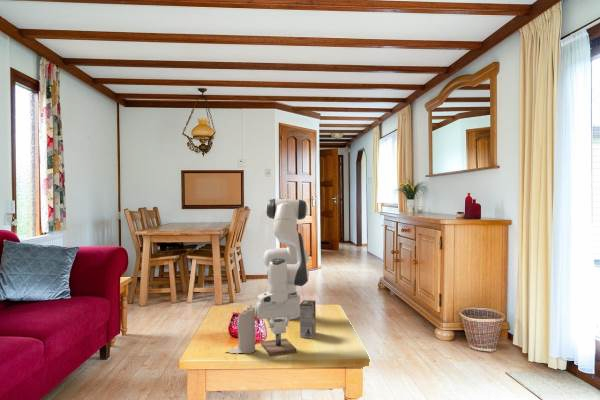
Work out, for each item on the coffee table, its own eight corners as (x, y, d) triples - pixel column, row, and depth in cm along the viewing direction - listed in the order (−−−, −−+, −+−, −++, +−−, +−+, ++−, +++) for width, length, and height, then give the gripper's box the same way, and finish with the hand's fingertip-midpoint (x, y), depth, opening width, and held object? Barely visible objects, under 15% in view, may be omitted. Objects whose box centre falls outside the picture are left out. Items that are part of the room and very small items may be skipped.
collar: (270, 330, 189) (270, 319, 189) (282, 329, 191) (282, 318, 191) (274, 334, 184) (274, 322, 184) (286, 332, 186) (285, 321, 186)
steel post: (275, 344, 189) (274, 330, 189) (280, 343, 189) (280, 329, 189) (276, 346, 186) (276, 331, 186) (281, 345, 187) (281, 330, 187)
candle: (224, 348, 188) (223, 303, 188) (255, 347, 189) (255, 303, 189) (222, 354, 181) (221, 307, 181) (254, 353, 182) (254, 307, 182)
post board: (261, 344, 193) (261, 341, 193) (286, 341, 197) (286, 338, 197) (269, 355, 179) (269, 352, 179) (296, 352, 183) (296, 348, 183)
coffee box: (303, 331, 212) (303, 299, 212) (316, 332, 210) (315, 300, 210) (299, 337, 203) (299, 304, 203) (313, 338, 201) (312, 304, 201)
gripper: (297, 292, 194) (298, 322, 194) (254, 296, 188) (254, 327, 187) (302, 295, 188) (302, 326, 188) (257, 299, 182) (257, 331, 182)
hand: (278, 326), depth 188 cm, fingers closed on collar, 5 cm apart
